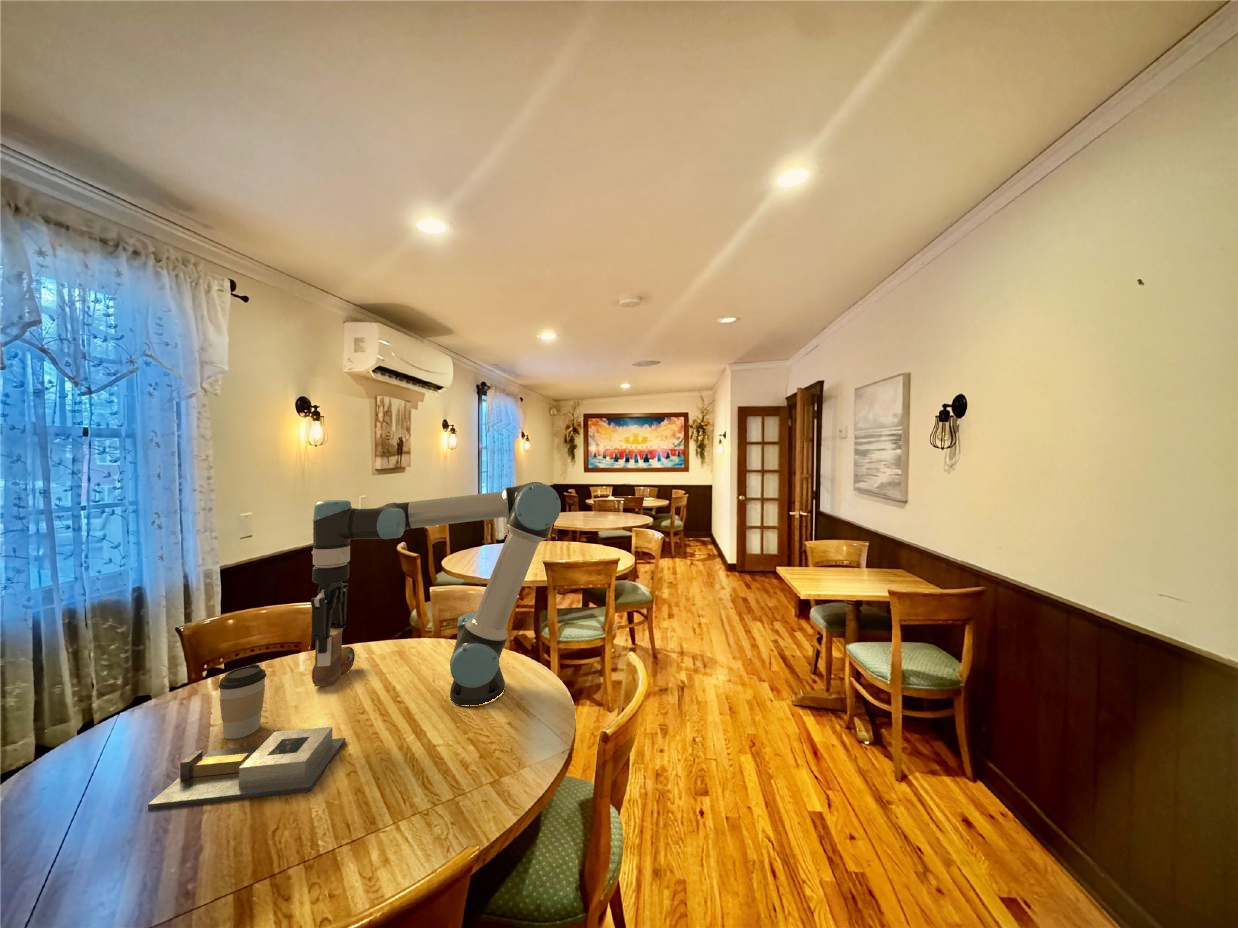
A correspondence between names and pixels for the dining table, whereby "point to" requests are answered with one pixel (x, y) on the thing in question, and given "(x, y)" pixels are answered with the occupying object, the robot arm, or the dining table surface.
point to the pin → (210, 765)
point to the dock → (260, 770)
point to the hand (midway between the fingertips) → (329, 660)
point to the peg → (332, 672)
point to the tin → (342, 661)
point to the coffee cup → (242, 700)
